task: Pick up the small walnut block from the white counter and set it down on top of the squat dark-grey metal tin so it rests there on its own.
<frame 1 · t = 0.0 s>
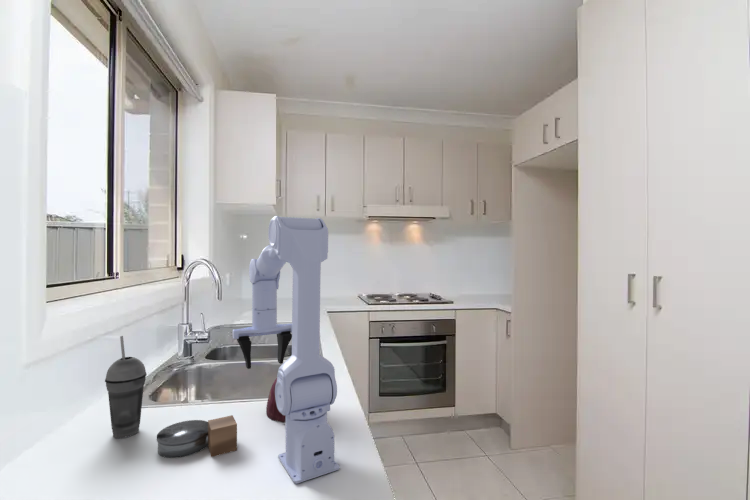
hand: (264, 365, 90), 10 cm above the counter, fingers open, 7 cm apart
grey tin: (184, 446, 72), on the counter
walnut block: (222, 448, 71), on the counter
beverage cup: (126, 433, 77), on the counter
vegetable: (288, 413, 87), on the counter
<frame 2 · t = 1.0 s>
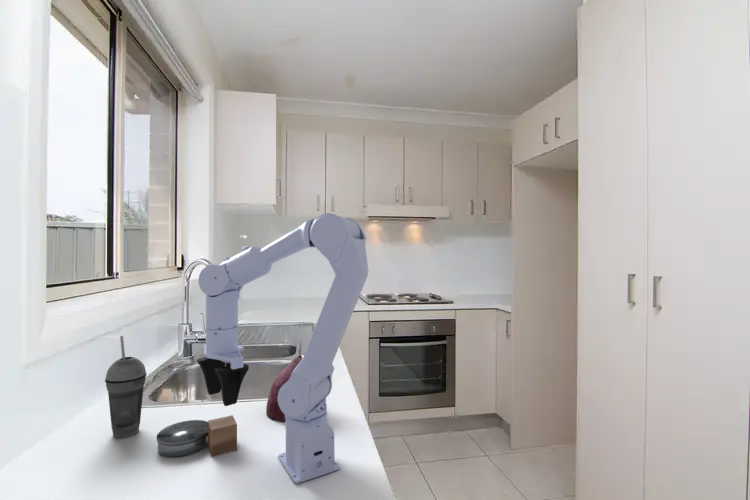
hand: (222, 398, 71), 9 cm above the counter, fingers open, 7 cm apart
nothing on the counter moved.
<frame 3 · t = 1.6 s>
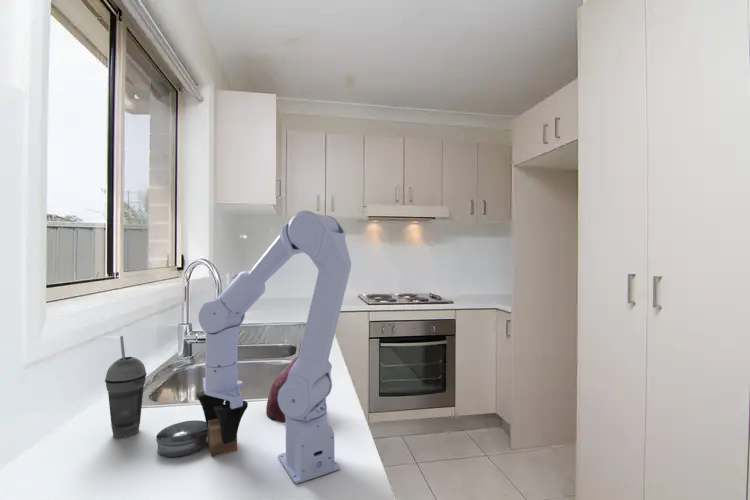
hand: (221, 434, 71), 3 cm above the counter, fingers open, 7 cm apart
grey tin: (184, 446, 72), on the counter, touching gripper
everything else where it was.
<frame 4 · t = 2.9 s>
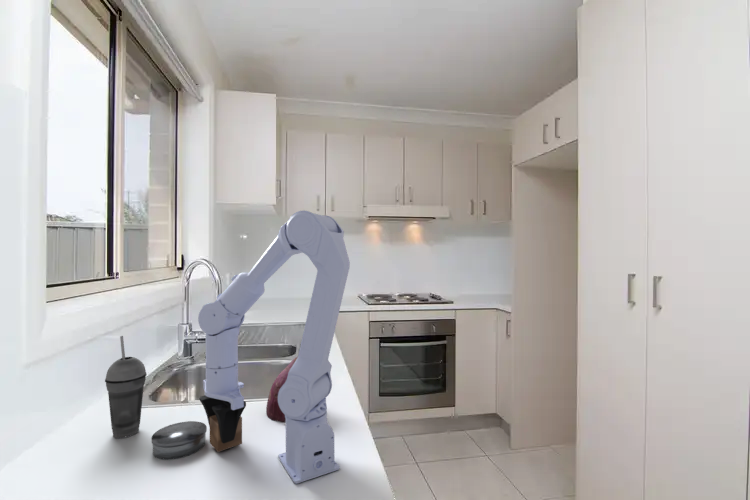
hand: (222, 436, 71), 2 cm above the counter, fingers closed on walnut block, 5 cm apart
grey tin: (179, 447, 72), on the counter
walnut block: (225, 443, 71), point 1 cm above the counter, touching gripper
everything else where it was.
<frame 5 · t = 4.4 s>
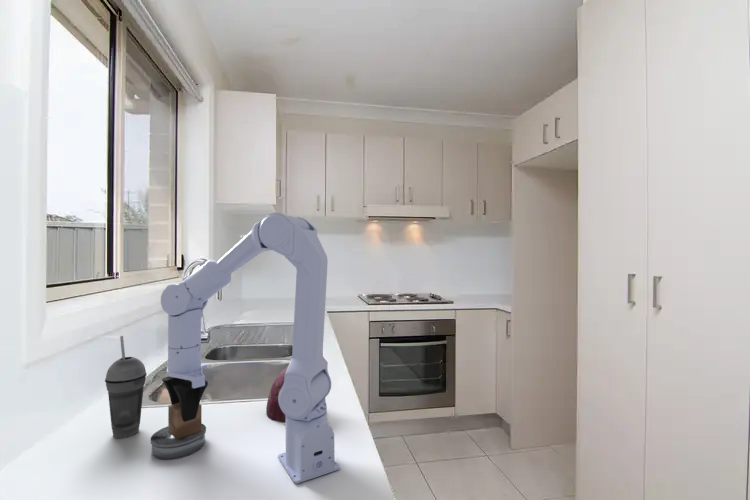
hand: (184, 415, 72), 6 cm above the counter, fingers closed on walnut block, 4 cm apart
grey tin: (179, 448, 71), on the counter, touching walnut block
walnut block: (184, 431, 72), point 3 cm above the counter, touching grey tin, gripper
everything else where it was.
when the fingers open (6 cm above the counter, at t = 4.7 s): walnut block stays where it is, resting on grey tin.
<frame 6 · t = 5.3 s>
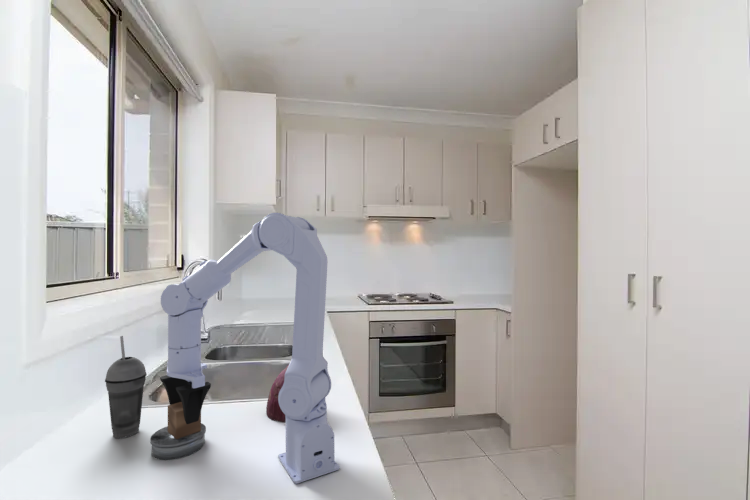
hand: (184, 416, 72), 6 cm above the counter, fingers open, 7 cm apart
walnut block: (184, 431, 72), point 3 cm above the counter, touching grey tin
everything else where it was.
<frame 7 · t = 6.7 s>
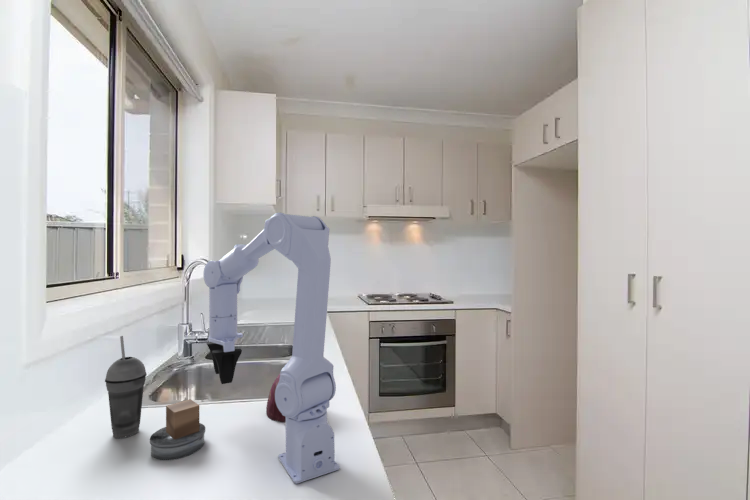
hand: (223, 377, 82), 10 cm above the counter, fingers open, 7 cm apart
nothing on the counter moved.
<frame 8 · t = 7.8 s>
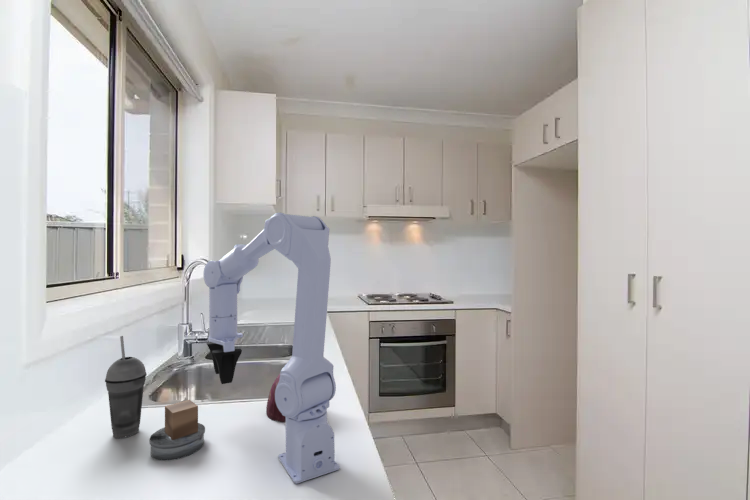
hand: (223, 377, 82), 10 cm above the counter, fingers open, 7 cm apart
nothing on the counter moved.
at the end: walnut block 0.7 cm off-centre on the grey tin, point 3.0 cm above the grey tin's base; walnut block tilted 0°; the gripper is holding nothing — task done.
